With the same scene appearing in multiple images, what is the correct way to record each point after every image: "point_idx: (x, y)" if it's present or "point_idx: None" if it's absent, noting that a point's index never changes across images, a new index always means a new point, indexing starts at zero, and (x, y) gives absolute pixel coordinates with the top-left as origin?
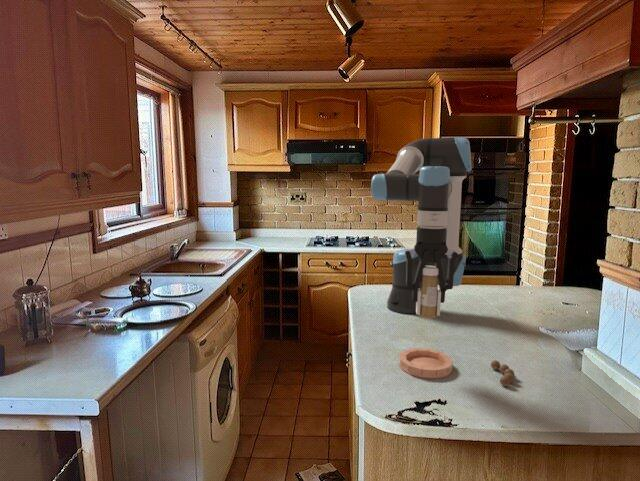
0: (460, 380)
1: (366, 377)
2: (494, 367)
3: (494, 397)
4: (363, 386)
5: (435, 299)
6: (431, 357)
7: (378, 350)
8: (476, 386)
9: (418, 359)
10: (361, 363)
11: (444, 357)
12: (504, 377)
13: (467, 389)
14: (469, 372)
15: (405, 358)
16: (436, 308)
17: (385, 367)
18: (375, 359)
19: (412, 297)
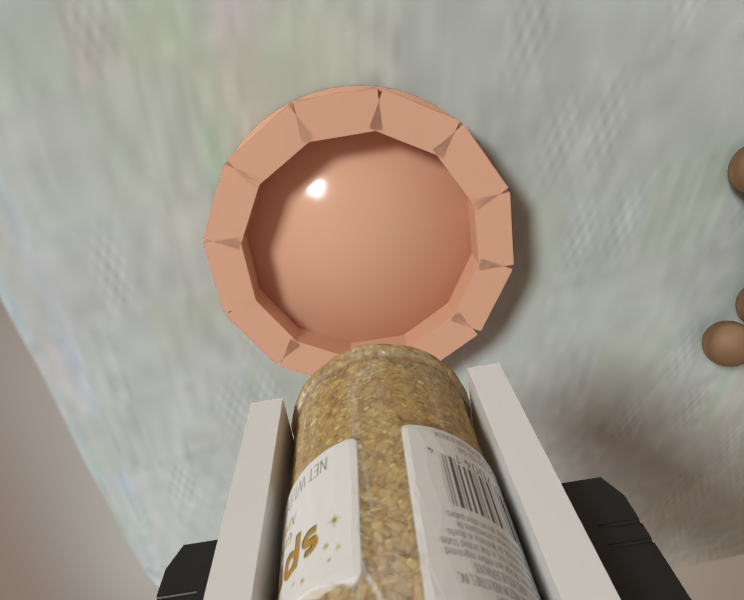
0: (525, 336)
1: (98, 424)
2: (740, 190)
3: (632, 433)
4: (114, 492)
5: None
6: (397, 144)
7: (37, 75)
8: (585, 370)
9: (319, 195)
10: (14, 295)
11: (475, 205)
12: (735, 359)
13: (540, 403)
14: (588, 241)
15: (246, 284)
16: (488, 462)
17: (154, 305)
18: (69, 223)
19: (163, 589)
